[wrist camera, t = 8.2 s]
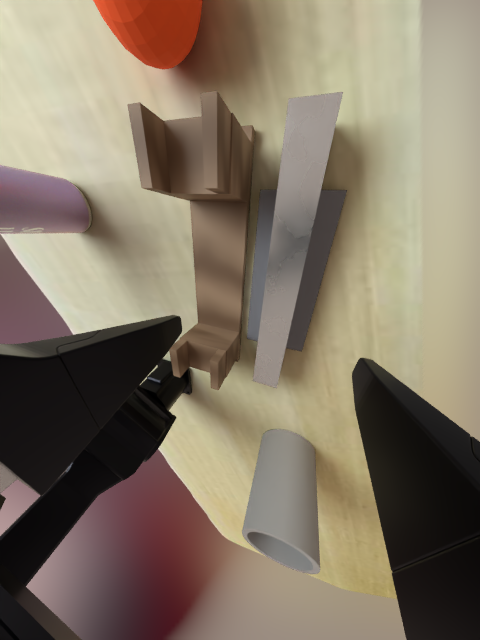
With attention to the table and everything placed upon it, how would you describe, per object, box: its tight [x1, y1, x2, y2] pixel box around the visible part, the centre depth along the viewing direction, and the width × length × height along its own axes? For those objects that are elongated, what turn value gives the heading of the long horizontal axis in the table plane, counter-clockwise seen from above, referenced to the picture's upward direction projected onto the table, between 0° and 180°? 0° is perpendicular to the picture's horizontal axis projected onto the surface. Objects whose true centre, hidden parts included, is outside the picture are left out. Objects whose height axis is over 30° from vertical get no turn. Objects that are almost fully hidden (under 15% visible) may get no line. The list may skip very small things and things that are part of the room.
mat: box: [247, 190, 347, 352], centre depth 19 cm, size 16×7×1 cm, turn 177°
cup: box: [242, 429, 320, 574], centre depth 26 cm, size 9×9×12 cm
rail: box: [253, 92, 343, 388], centre depth 17 cm, size 24×3×3 cm, turn 177°
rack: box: [128, 91, 255, 390], centre depth 18 cm, size 24×6×7 cm, turn 177°
